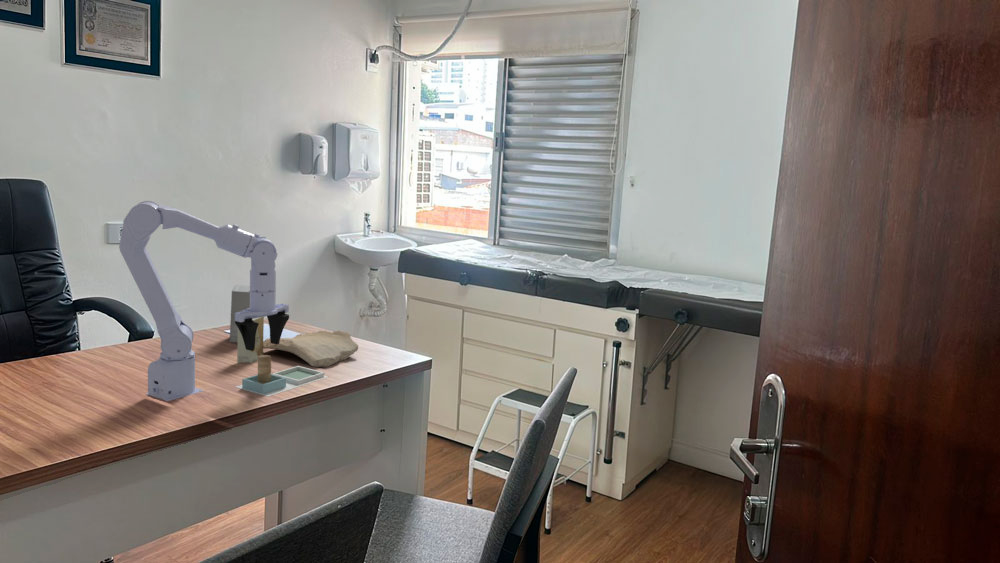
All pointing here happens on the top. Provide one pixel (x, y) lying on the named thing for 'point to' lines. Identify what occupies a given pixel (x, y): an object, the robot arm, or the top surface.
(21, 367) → the top surface
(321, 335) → the tan rock slab
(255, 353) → the skincare box
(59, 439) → the top surface
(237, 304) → the skincare box
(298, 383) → the organizer
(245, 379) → the teal square tray
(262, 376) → the dowel
